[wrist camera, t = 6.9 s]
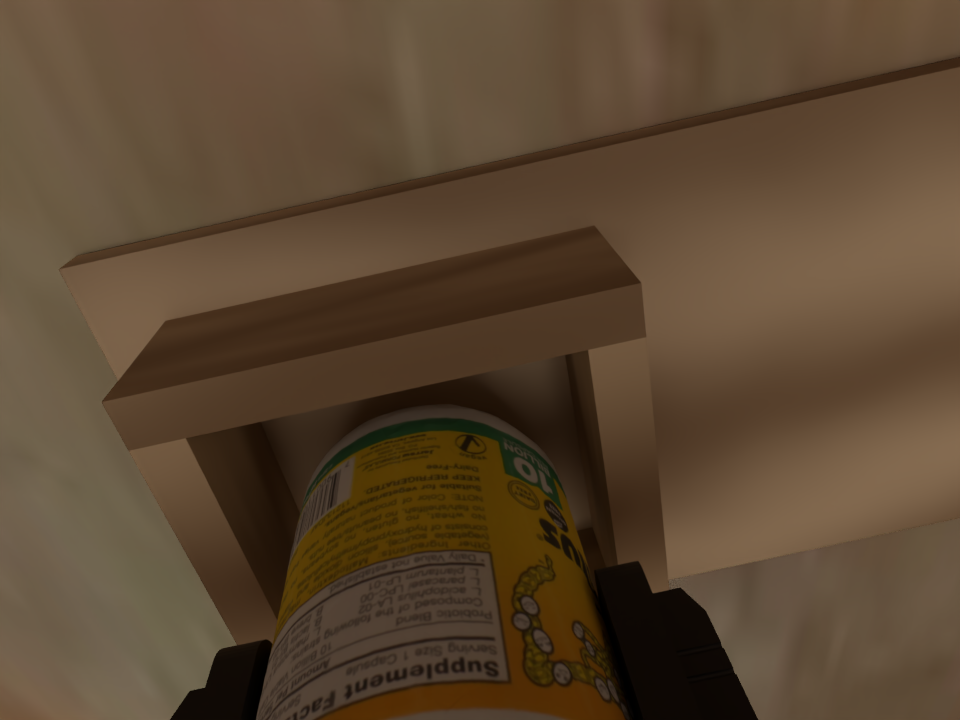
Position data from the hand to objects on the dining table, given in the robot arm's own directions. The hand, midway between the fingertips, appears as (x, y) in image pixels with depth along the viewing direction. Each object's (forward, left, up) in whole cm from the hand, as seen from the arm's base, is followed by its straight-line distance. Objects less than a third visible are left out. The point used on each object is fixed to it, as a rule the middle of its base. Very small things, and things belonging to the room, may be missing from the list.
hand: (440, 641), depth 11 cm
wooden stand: (0, +4, -6) cm, 7 cm away
